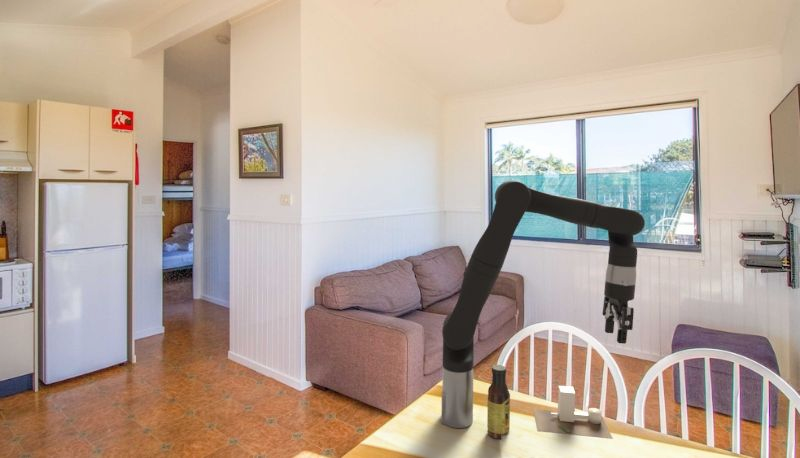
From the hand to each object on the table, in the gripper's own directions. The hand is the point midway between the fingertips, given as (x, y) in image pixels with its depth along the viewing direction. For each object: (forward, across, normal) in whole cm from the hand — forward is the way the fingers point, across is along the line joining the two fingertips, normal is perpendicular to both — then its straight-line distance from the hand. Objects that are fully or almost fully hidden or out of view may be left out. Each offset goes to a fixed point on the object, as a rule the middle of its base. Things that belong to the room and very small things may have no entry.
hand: (614, 337), depth 122 cm
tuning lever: (+27, -4, -7) cm, 28 cm away
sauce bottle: (+30, +2, -31) cm, 43 cm away
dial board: (+29, -3, -9) cm, 30 cm away
